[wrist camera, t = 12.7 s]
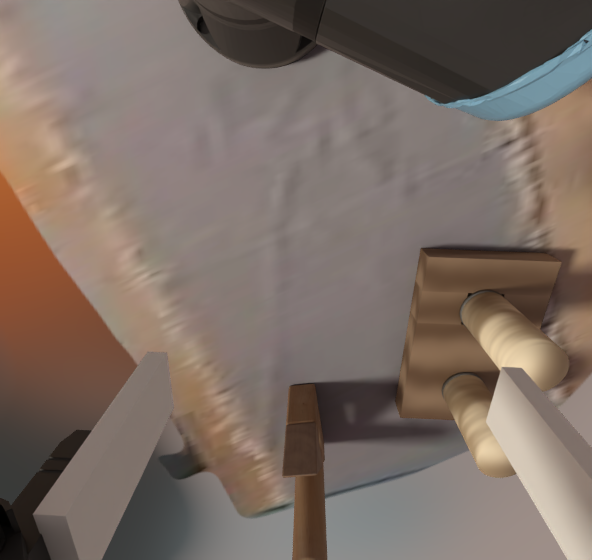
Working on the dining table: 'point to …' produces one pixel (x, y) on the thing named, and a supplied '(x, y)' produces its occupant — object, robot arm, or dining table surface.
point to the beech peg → (513, 338)
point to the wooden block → (306, 472)
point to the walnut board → (465, 340)
